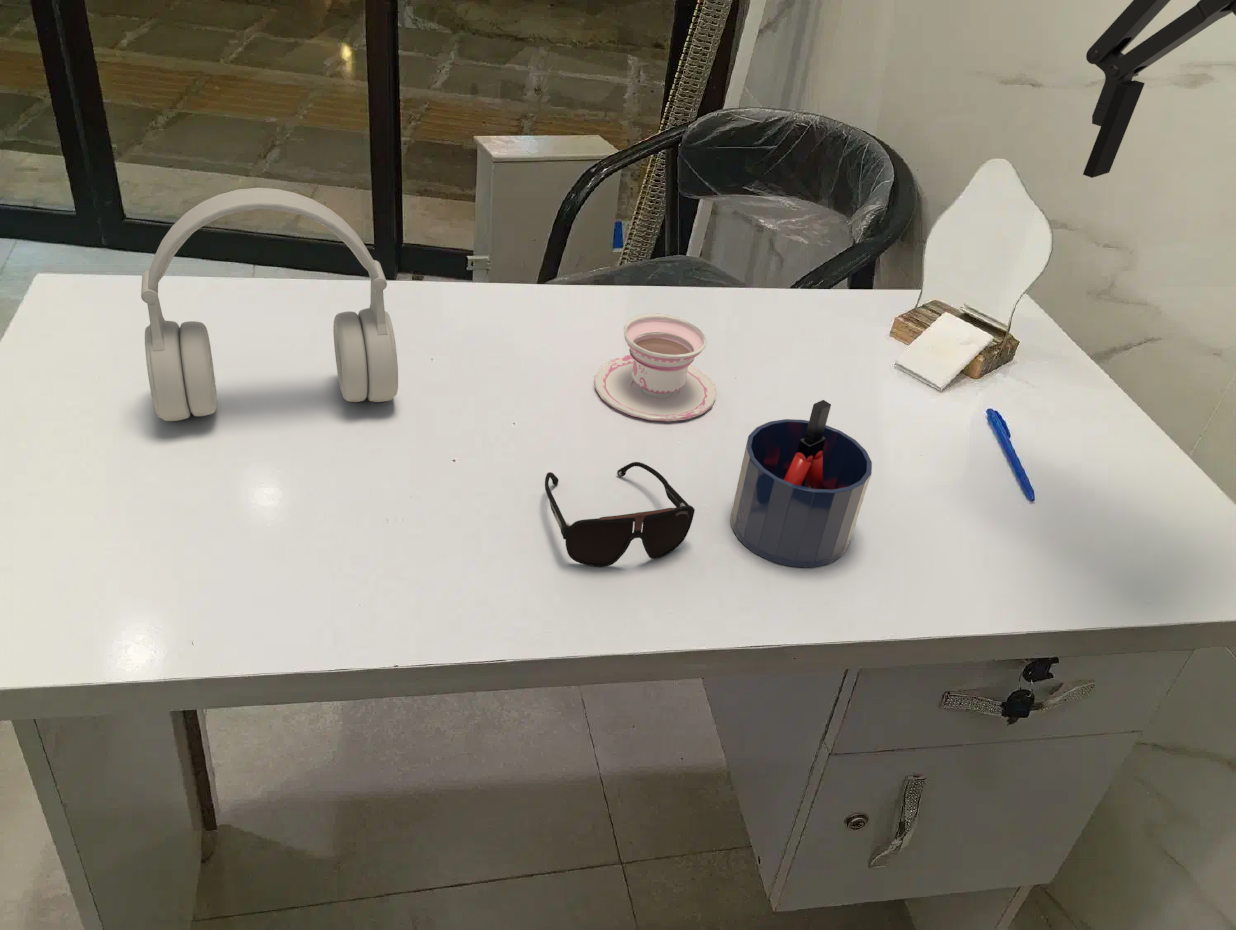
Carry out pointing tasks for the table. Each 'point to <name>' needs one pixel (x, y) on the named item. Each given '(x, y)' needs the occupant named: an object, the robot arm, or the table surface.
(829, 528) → the pen cup
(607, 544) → the sunglasses
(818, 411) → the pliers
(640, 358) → the teacup
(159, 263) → the headphones
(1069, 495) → the table surface
